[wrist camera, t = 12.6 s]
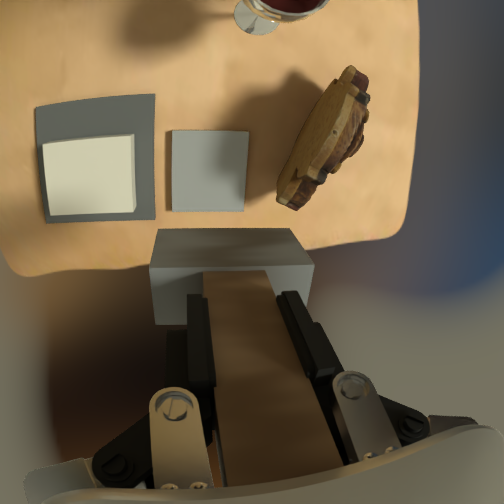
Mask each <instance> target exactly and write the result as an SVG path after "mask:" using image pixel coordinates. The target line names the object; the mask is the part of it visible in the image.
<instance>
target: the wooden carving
mask: <svg viewBox="0 0 504 504" xmlns="http://www.w3.org/2000/svg"><path fill="white" fill-rule="evenodd" d="M368 84H369V80H368V77H367V76H366V75H364V74H362V73H361V72H359V71H358V70H357V69H356V68H355V67H354V66H352V65H350V66H348V67H347V68H346V69H345V70H344V71H343V72H342V74H341V76H340V78H339V80H337V79H334V80H333V81H332V82H331V83H330V85H329V86H328V88H327V89H326V90H325V92H324V93H323V95H322V96H321V98H320V99H319V101H318V102H317V104H316V105H315V107H314V109H313V110H312V112H311V114H310V115H309V117H308V119H307V120H306V122H305V124H304V126H303V128H302V130H301V132H300V134H299V136H298V138H297V140H296V142H295V145H294V147H293V150H292V153H291V155H290V158H289V160H288V162H287V163H286V165H285V167H284V168H283V170H282V172H281V174H280V176H279V178H278V181H277V196H276V201H277V202H278V203H280V204H282V205H285V206H287V207H289V208H291V209H293V210H295V211H297V210H299V209H300V208H301V207H302V206H304V205H305V204H306V203H307V202H308V201H309V200H310V198H311V196H312V195H313V193H314V192H315V191H316V188H317V186H318V185H322V184H323V183H324V182H325V180H326V178H327V174H328V173H332V174H334V173H336V172H337V171H338V170H339V168H340V167H341V163H342V162H343V161H344V160H345V159H347V158H348V157H352V156H353V155H354V154H355V153H356V152H357V151H358V150H359V148H360V147H361V145H362V143H363V141H364V135H363V129H364V123H366V122H367V121H368V118H369V111H368V109H367V104H368V103H369V101H370V95H369V94H367V93H366V90H367V88H368Z"/></svg>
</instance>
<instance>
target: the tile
mask: <svg viewBox="0 0 504 504" xmlns="http://www.w3.org/2000/svg"><path fill="white" fill-rule="evenodd" d="M43 158H44V169H45V179H46V188H47V196H48V203H49V210H50V216H54V215H73V214H95V213H124V212H134V210H135V208H136V187H135V153H134V134H119V135H105V136H93V137H83V138H73V139H65V140H57V141H50V142H47V143H45V144H43Z"/></svg>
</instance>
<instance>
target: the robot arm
mask: <svg viewBox="0 0 504 504" xmlns="http://www.w3.org/2000/svg"><path fill="white" fill-rule="evenodd" d="M276 302H277V305H278V307H279V310H280V312H281V315H282V317H283V320H284V323H285V325H286V328H287V330H288V333H289V335H290V338H291V340H292V343H293V345H294V348H295V350H296V353H297V355H298V358H299V360H300V363H301V366H302V368H303V371H304V373H305V376H306V378H309V380H310V382H311V385H312V387H313V390H314V392H315V395H316V397H317V400H318V402H319V405H320V407H321V410H322V412H323V415H324V417H325V420H326V422H327V425H328V427H329V430H330V432H331V435H332V437H333V440H334V442H335V445H336V447H337V450H338V452H339V455H340V457H341V460H342V462H343V465H344V466H343V467H340V468H336V469H332V470H328V471H324V472H320V473H315V474H311V475H306V476H301V477H296V478H291V479H285V480H280V481H273V482H267V483H260V484H252V485H244V486H234V487H222V488H214V485H213V480H212V476H211V471H210V466H209V461H208V456H207V450H206V447H207V446H209V445H210V444H211V443H212V441H213V440H212V430H215V415H214V387H217V384H216V371H215V363H214V354H213V345H212V337H211V327H210V318H209V308H208V298H202V294H187V330H167V338H166V340H167V341H166V363H165V389H162V390H160V391H158V392H157V393H156V394H155V395H154V396H153V397H152V399H151V401H150V406H149V410H150V412H149V413H148V414H147V415H145V416H144V417H143V418H141V419H140V420H139V421H138V422H136V423H135V424H134V425H132V426H131V427H130V428H128V429H127V430H126V431H124V432H123V433H121V434H120V435H119V436H117V437H116V438H115V439H113V440H112V441H111V442H109V443H108V444H107V445H105V446H104V447H102V448H101V449H100V450H99V451H98V452H97V453H95V455H94V457H92V458H89V459H86V460H84V459H83V458H80V459H76V460H72V461H68V462H65V463H61V464H57V465H53V466H48V467H44V468H40V469H35V470H33V471H31V472H29V473H28V474H27V475H26V476H25V480H24V490H25V494H26V497H27V500H28V504H504V436H503V435H502V434H501V433H500V432H499V431H498V430H496V429H495V428H493V427H491V426H486V425H479V424H478V423H477V422H476V421H475V420H474V419H472V418H471V417H464V416H440V415H429V416H428V417H426V416H424V415H423V414H422V413H421V412H419V411H417V410H414V409H412V408H409V407H407V406H405V405H402V404H400V403H397V402H395V401H392V400H390V399H387V398H385V397H383V396H380V395H378V394H377V391H376V389H375V387H374V385H373V383H372V382H371V380H370V379H369V378H368V377H367V376H366V375H364V374H362V373H360V372H356V371H344V369H343V367H342V365H341V363H340V361H339V359H338V357H337V355H336V353H335V351H334V350H333V347H332V345H331V343H330V342H329V339H328V338H327V336H326V334H325V332H324V330H323V328H322V326H321V325H320V323H318V322H314V323H313V321H312V319H311V317H310V315H309V313H308V311H307V309H306V307H305V305H304V303H303V301H302V299H301V297H300V295H299V293H298V291H297V290H292V291H282V292H281V295H277V296H276Z"/></svg>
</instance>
